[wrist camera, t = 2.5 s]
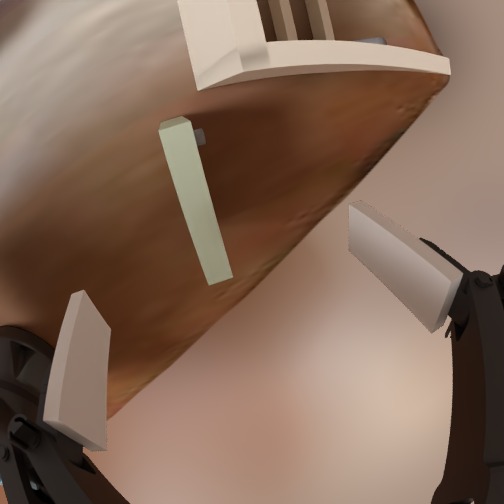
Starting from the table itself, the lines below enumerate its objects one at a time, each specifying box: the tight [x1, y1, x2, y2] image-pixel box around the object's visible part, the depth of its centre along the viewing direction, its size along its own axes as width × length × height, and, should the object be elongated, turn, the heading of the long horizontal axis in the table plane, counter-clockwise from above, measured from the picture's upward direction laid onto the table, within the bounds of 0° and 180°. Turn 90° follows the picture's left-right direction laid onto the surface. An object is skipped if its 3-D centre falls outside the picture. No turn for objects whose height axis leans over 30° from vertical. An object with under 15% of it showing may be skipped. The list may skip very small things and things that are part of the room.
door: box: [159, 116, 233, 285], centre depth 22 cm, size 12×3×10 cm, turn 11°
